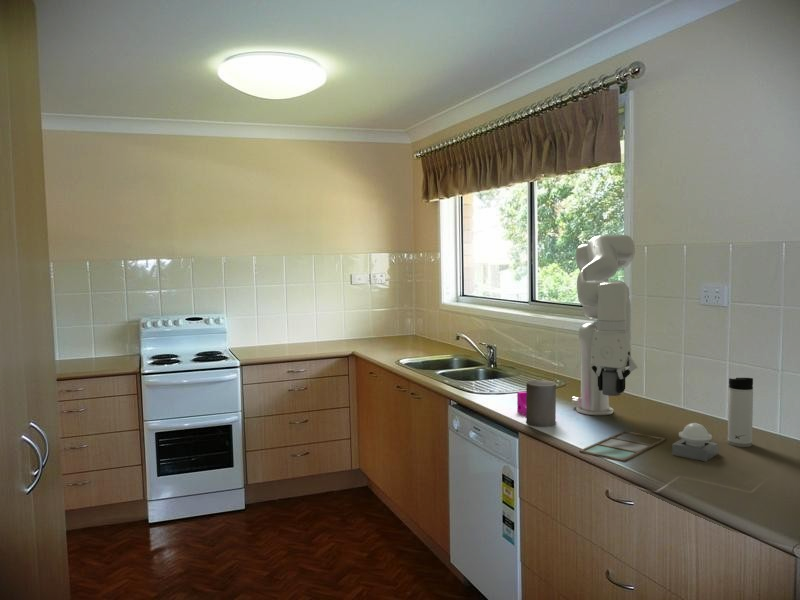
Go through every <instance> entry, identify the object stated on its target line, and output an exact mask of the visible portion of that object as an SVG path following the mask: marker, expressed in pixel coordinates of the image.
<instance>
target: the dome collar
mask: <svg viewBox="0 0 800 600" xmlns="http://www.w3.org/2000/svg"><path fill="white" fill-rule="evenodd" d="M671 455H672V456H677V457H683V458H686V459H687V458H688V459H692V460H698V461H702V462H708V461H709V460H711V459H712V458H713V457H715V456H717V455H719V443H718V442H714V441H713V442H712V441H706V443H705V447H703V448H699V447H694V446H689V445H686V441H685V440H684V439H683V438H681V439H679V440H677V441H676V442H673V443H672V445H671Z"/></svg>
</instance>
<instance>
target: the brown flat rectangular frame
mask: <svg viewBox="0 0 800 600" xmlns="http://www.w3.org/2000/svg"><path fill="white" fill-rule="evenodd" d="M623 434H630V435H635V436H639V437H645V438H650V439H655V440H656V439H657V440H658V441H656V442H653V443H652V444H650V443H644V442H640V441H635V440H629V439H625V438H621V437H620V438H619V436H622V435H623ZM660 439H661V440H660ZM663 441H664V442H666V441H667V438H665V437H660V436H653V435H648V434H643V433H638V432H633V431H627V430H622V431H621V432H618V433H616V434H614V435H611V436H608V437H606V438H605V439H603V440H600V441H598V442H596V443H593V444H591V445H589V446H586V447H584V448H581V449H580V450H579V453H583V454H586V455H591V456H592V455H593V456H595V457H601V458H605V459H610V460H614V461H618V462H623V463H625V462H627V461H629V460H631V459H633V458H635V457H636V456H638V455H640V454H642V453H644V452H647V451H648V450H650V449H653V448H654V447H655V446H657V445H660V444H662V443H664V442H663ZM661 442H662V443H661Z"/></svg>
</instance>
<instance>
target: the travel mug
mask: <svg viewBox="0 0 800 600" xmlns="http://www.w3.org/2000/svg"><path fill="white" fill-rule="evenodd" d="M753 384H754V378H753V377H735V378H728V395H727V396H728V399H727V401H728V402H727V404H728V405H727V410H728V411H727V443H728V444H729V445H730V446H733V447H737V448H749V447H752V445H753V411H754V410H753V409H754V408H753V407H754V406H753V405H754V387H753Z"/></svg>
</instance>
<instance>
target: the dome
mask: <svg viewBox="0 0 800 600" xmlns="http://www.w3.org/2000/svg"><path fill="white" fill-rule="evenodd" d="M678 437H679V438H681V439H684V440H685V441H686V445H689V446H694V447H699V448H703V447H705V443H706V441H708V442H710V441H711V440H713V435H712V434H710V433H709V432H708V431H707V429H706V428H705V426H704V425H702V424H699V423H698V422H691V423H688V425H687V426H686V427H685V426H684V428H683V429H682V431H679V432H678Z"/></svg>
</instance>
